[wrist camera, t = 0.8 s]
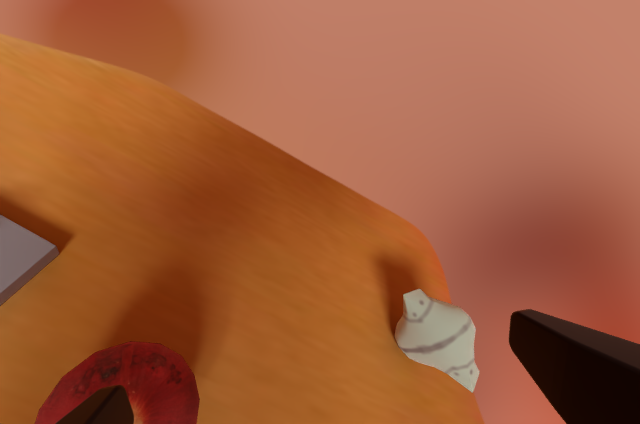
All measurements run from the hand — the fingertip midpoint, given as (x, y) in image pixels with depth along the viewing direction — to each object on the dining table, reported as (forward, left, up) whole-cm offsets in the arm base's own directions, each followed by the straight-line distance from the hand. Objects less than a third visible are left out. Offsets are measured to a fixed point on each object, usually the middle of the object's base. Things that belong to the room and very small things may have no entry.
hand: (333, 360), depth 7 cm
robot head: (+9, -13, -15) cm, 22 cm away
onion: (-3, +3, -15) cm, 15 cm away
